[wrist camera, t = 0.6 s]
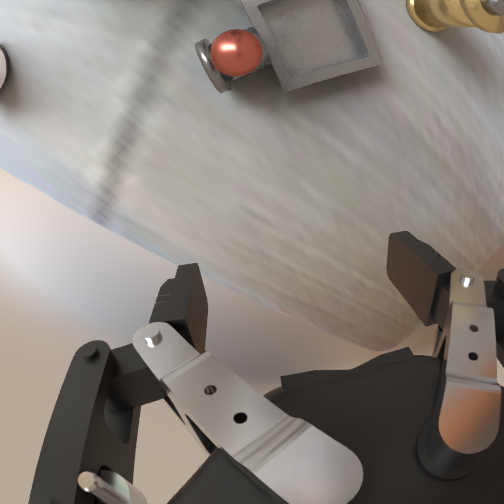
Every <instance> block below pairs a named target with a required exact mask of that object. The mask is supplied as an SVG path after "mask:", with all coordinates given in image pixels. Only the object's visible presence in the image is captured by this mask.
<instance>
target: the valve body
mask: <svg viewBox="0 0 504 504" xmlns="http://www.w3.org/2000/svg"><path fill="white" fill-rule="evenodd" d="M406 7H407V11H408V13H409V15H410V17H411V19H412V20H413V21H414V22H415V23H416V24H417V25H418V26H419V27H420V28H422V29H424V30H427V31H431V32H437V31H442V30H444V29H446V28H447V27H477V28H479V29H480V30H482V31H485V32H488V33H502V32H504V0H406Z"/></svg>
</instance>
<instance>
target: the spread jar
mask: <svg viewBox="0 0 504 504" xmlns="http://www.w3.org/2000/svg"><path fill="white" fill-rule="evenodd" d="M7 73H8V57H7V54H6V52H5V51H4V49H3V48H2V47H0V89H1V87H2V85H3V84H4V82H5V79H6V77H7Z"/></svg>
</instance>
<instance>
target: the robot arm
mask: <svg viewBox="0 0 504 504" xmlns="http://www.w3.org/2000/svg"><path fill="white" fill-rule="evenodd" d="M387 274H388V277H389V279H390V281H391V282H392V283H393V284H394V286H395V287H396V288H397V289H398V291H399V292H400V293H401V294H402V296H403V297H404V298H405V300H406V301H407V302H408V303H409V305H410V306H411V307H412V309H413V310H414V311H415V313H416V314H417V315H418V317H419V318H420V319H421V321H422V322H423V323H424V325H425V326H430V325H433V324H436V323H437V324H438V328H437V331H436V336H435V342H434V348H433V353H432V356H424V355H413V353H412V352H411V350H410V348H409V347H406V348H403V349H400V350H396V351H393V352H389V353H386V354H382V355H379V356H377V357H376V358H374V359H372V360H370V361H368V362H366V363H364V364H362V365H360V366H358V367H356V368H353V369H350V370H314V371H308V372H303V373H298V374H292V375H286V376H281V377H280V378H281V387H278V388H276V389H274V390H272V391H270V392H268V393H266V394H265V395H263V396H262V395H261V394H260V393H258V392H257V391H256V390H255V389H253V388H252V387H251V386H250V385H248V384H247V383H246V382H244V381H243V380H242V379H241V378H240V377H238V376H237V375H236V374H235V373H234V372H232V371H231V370H230V369H229V368H228V367H226V366H225V365H224V364H223V363H222V362H220V361H219V360H218V359H217V358H216V357H215V356H213V355H212V354H211V353H210V352H208V351H205V340H206V328H207V316H208V302H207V297H206V293H205V289H204V285H203V281H202V277H201V273H200V269H199V266H198V264H197V263H192V264H185V265H179V266H178V269H177V273H176V276H175V278H173V279H168V280H167V281H166V282H165V283H164V284H163V285H162V286H161V288H160V290H159V293H158V297H157V299H156V304H155V305H154V309H153V312H152V315H151V318H150V321H149V324H147V325H145V326H143V327H141V328H140V329H139V330H138V331H137V332H136V333H135V334H134V336H133V339H132V343H131V344H129V345H126V346H122V347H119V348H116V349H113V350H111V349H110V347H109V345H108V344H107V343H106V342H104V341H101V340H95V341H91V342H88V343H86V344H84V345H83V346H81V347H80V348H79V349H78V350H77V352H76V353H75V355H74V357H73V360H72V362H71V364H70V367H69V369H68V372H67V374H66V377H65V380H64V382H63V385H62V388H61V390H60V394H59V396H58V399H57V401H56V404H55V407H54V410H53V413H52V416H51V419H50V422H49V426H48V429H47V432H46V435H45V438H44V442H43V446H42V449H41V453H40V456H39V460H38V464H37V468H36V472H35V476H34V480H33V485H32V489H31V494H30V499H29V504H147V501H146V498H145V496H144V495H143V493H142V492H141V491H139V489H137V488H136V487H134V486H133V471H134V461H135V450H136V442H137V433H138V425H139V418H140V410H141V405H144V404H147V403H150V402H154V401H157V400H160V399H163V400H164V402H165V403H166V404H167V405H168V407H169V408H170V409H171V410H172V412H173V413H174V414H175V416H176V417H177V418H178V419H179V420H180V422H181V423H182V424H183V425H184V426H185V427H186V429H187V430H188V431H189V432H190V434H191V435H192V436H193V437H194V439H195V440H196V441H197V443H198V444H199V445H200V446H201V448H202V449H203V450H204V451H205V452H206V453H207V454H208V455H209V457H208V458H207V460H206V461H205V462H204V463H203V464H202V465H201V467H200V468H199V469H198V470H197V471H196V473H194V474H193V476H192V477H191V478H190V479H189V480H188V481H187V482H186V483H185V485H184V486H183V487H182V488H181V489H180V490H179V491H178V492H177V493H176V494H175V495H174V496H173V497H172V499H171V500H170V501H169V502H168V503H167V504H504V387H503V386H500V385H499V384H498V383H497V358H498V360H499V361H500V363H501V364H502V366H503V367H504V269H501V270H499V272H498V275H497V278H496V281H484V280H483V278H482V277H481V276H480V274H478V273H477V272H475V271H473V270H470V269H464V268H461V269H456V268H455V267H454V266H453V265H451V264H450V263H449V262H448V261H447V260H446V259H445V258H444V257H442V256H441V255H440V254H439V253H438V252H435V250H434V249H433V248H432V247H431V246H430V245H428V244H426V243H424V242H422V241H420V240H418V239H417V238H415V237H414V236H413V235H412V234H411V233H409V232H408V231H402V232H396V233H391V234H390V236H389V243H388V256H387Z"/></svg>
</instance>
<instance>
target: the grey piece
mask: <svg viewBox="0 0 504 504" xmlns="http://www.w3.org/2000/svg"><path fill="white" fill-rule="evenodd" d="M241 3H242V5H243V8H244V10H245V11H246V13H247V15H248V17H249V19H250V21H251V23H252V25H253V27H251V28H248V29H245V30H229V31H226V32H224V33H222V34H221V35H219V36H218V37H217V38H216V39H215V41H214V42H213V43H212V44H210V42H209V41H208V40H207V39H203V40H201V41H199V42H197V43H196V44H195V46H196V50H197V54H198V56H199V59H200V61H201V63H202V65H203V67H204V69H205V71H206V73H207V75H208V77H209V78H210V80H211V82H212V83H213V85H214V86H215V88H216V89H217V90H218V91H219V92H220V93H224V92H226V91H228V90H231V84H230V82H231V81H233V80H236V79H238V78H241V77H243V76H245V75H248V74H250V73H253V72H256V71H258V70H261V69H263V68H266V67H269V66H272V67H273V69H274V71H275V74H276V76H277V78H278V80H279V83H280V85H281V87H282V90H283V91H284V93H286V92H289V91H292V90H295V89H298V88H301V87H304V86H307V85H310V84H313V83H316V82H320V81H323V80H326V79H330V78H333V77H336V76H340V75H344V74H347V73H351V72H355V71H359V70H362V69H367V68H371V67H375V66H379V65H383V63H382V60H381V57H380V54H379V52H378V49H377V46H376V43H375V41H374V38H373V35H372V33H371V30H370V28H369V25H368V23H367V21H366V18H365V16H364V13H363V11H362V9H361V7H360V4H359V2H358V0H241Z"/></svg>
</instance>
